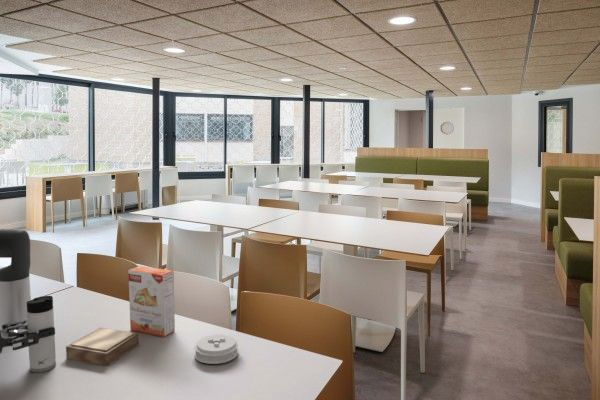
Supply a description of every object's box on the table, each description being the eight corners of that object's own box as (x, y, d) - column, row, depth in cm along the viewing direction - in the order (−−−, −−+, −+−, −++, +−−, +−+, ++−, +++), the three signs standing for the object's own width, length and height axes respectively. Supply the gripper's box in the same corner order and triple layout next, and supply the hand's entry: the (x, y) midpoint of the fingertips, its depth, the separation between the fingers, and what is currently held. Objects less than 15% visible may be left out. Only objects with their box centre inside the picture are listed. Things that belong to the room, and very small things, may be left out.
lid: (245, 350, 135) (245, 334, 135) (225, 370, 123) (225, 353, 123) (208, 343, 139) (208, 328, 139) (185, 362, 128) (185, 345, 127)
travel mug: (45, 374, 119) (41, 302, 117) (24, 371, 121) (20, 300, 118) (62, 363, 125) (59, 294, 123) (41, 360, 127) (38, 292, 124)
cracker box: (129, 330, 148) (127, 269, 145) (142, 324, 153) (140, 264, 150) (163, 338, 142) (162, 274, 140) (175, 331, 148) (174, 269, 145)
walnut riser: (66, 358, 128) (65, 345, 128) (100, 338, 142) (100, 326, 141) (107, 365, 124) (106, 352, 124) (138, 344, 138) (138, 332, 137)
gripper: (-19, 339, 106) (58, 321, 118) (-29, 321, 117) (43, 306, 128) (-17, 369, 107) (59, 348, 119) (-27, 349, 118) (44, 331, 129)
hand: (50, 326), depth 123 cm, fingers closed on travel mug, 6 cm apart
